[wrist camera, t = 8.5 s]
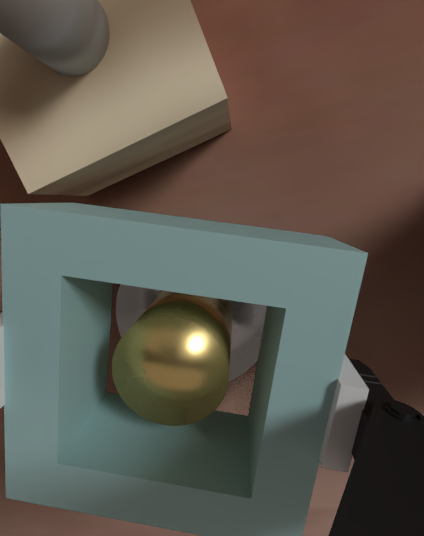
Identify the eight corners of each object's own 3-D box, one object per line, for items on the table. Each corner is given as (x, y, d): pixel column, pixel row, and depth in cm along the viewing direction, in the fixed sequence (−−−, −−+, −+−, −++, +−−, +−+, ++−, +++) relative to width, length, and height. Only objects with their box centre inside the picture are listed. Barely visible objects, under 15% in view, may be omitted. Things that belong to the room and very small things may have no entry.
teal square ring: (73, 202, 13) (0, 203, 9) (327, 236, 12) (368, 252, 8) (67, 420, 15) (5, 498, 11) (282, 457, 14) (297, 553, 10)
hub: (105, 265, 18) (14, 308, 11) (237, 209, 17) (235, 216, 10) (163, 386, 19) (117, 498, 12) (290, 342, 18) (324, 438, 11)
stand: (12, 37, 16) (-173, -95, 9) (162, -50, 15) (88, -289, 8) (87, 196, 17) (-21, 192, 10) (231, 129, 16) (223, 70, 9)
